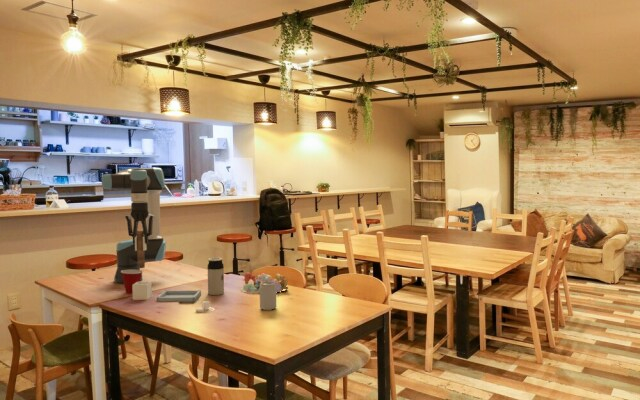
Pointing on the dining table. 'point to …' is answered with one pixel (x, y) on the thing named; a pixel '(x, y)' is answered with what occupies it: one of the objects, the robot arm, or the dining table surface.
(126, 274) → the plastic cup
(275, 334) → the dining table surface
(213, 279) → the travel mug
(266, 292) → the can
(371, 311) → the dining table surface
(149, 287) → the square open box
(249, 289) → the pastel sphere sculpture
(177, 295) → the tray
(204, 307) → the cream curved piece
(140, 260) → the dowel
